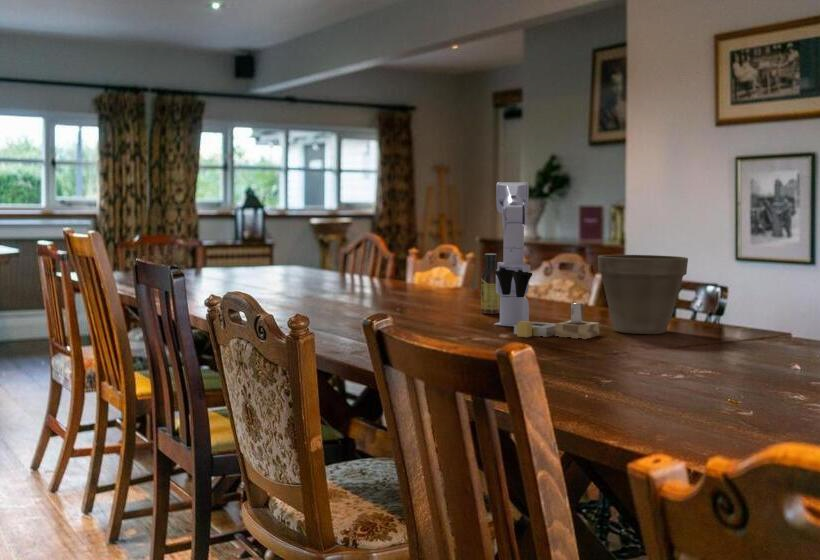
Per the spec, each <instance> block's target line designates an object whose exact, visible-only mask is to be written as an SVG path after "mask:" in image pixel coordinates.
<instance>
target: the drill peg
mask: <svg viewBox="0 0 820 560" xmlns="http://www.w3.org/2000/svg"><path fill="white" fill-rule="evenodd" d="M583 307H584V304H583V303H582V302H572V303H570V321H571V324H578V325H583V322H584V320H583V319H584V308H583Z"/></svg>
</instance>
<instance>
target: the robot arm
mask: <svg viewBox="0 0 820 560" xmlns="http://www.w3.org/2000/svg"><path fill="white" fill-rule="evenodd" d="M529 186H530V185H529V182H527V181H523V182H518V181H516V182H513V181H512V182H509V181H508V182H500V181H498V182H497V183H496V189H495V190H496V192H495V193H496V194H495V196H496V197H495V200H496V209H497V212H498V213H500V214H502V215H501V218H502V231H503V257H502V258H503V261H498V262H497V261H496V268H497V270H496V271H495V274H496V293H497V294H499V287H500V308H499V311H500V312H499V322H495V323H493V325H494V326H503V327H514V325H517V322H520V321H530V303H529V302H530V301H529V299H528V298H527V297H526V296H525V295H528V294H529V288H530V286H529V285H530V284H529V283H530V280H531V278H532V277H533V272H531V264H527V263H525V262H524V261H525V259H524V258H525V257H524V256H525V254H524V253H525V248H524V247H525V226H526V223H527V221H526V220H527V216H526V215H527V211H528V210H527V209H528V205H529V197H530V196H529V195H530V194H529V193H530V189H529Z"/></svg>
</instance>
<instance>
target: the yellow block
mask: <svg viewBox="0 0 820 560" xmlns="http://www.w3.org/2000/svg"><path fill="white" fill-rule="evenodd" d="M532 322H533V321H530V320H529V321H520V322H517V334H516V337H517V338H519V337H520V338H530V337H533V336H532Z"/></svg>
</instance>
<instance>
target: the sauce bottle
mask: <svg viewBox="0 0 820 560" xmlns="http://www.w3.org/2000/svg"><path fill="white" fill-rule="evenodd" d="M483 257H484V258H483V259H484V268H483V272H482V274H481V277H480V308H481V313H482V314H483V315H484V314H485V315H496V314H500V287H499V294H497V293H496V274H495V271H496V270H497V258H498V254H497V253H484V256H483Z"/></svg>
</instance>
